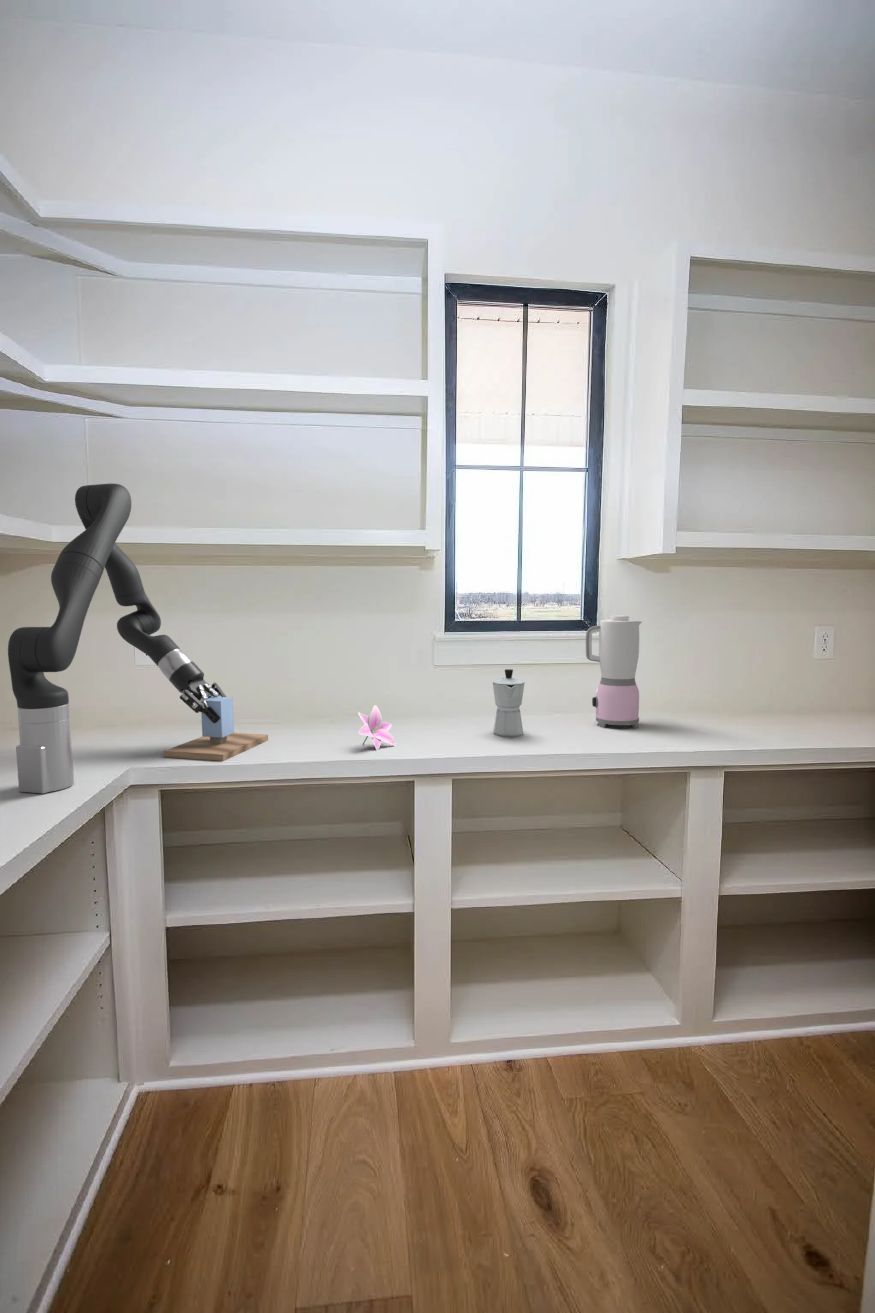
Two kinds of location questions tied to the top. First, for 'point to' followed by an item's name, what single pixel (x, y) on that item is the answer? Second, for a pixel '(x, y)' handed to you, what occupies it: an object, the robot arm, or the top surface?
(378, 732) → the lily
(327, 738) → the top surface
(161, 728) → the top surface
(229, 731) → the light blue block
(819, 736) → the top surface
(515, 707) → the coffee maker
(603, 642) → the blender
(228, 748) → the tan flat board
